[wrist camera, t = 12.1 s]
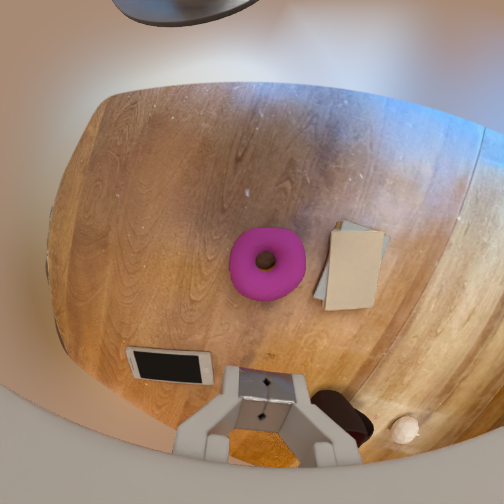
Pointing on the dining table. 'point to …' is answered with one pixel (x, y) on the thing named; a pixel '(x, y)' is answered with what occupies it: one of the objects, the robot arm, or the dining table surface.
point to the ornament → (404, 430)
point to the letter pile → (351, 267)
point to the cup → (344, 415)
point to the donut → (275, 278)
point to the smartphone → (171, 365)
